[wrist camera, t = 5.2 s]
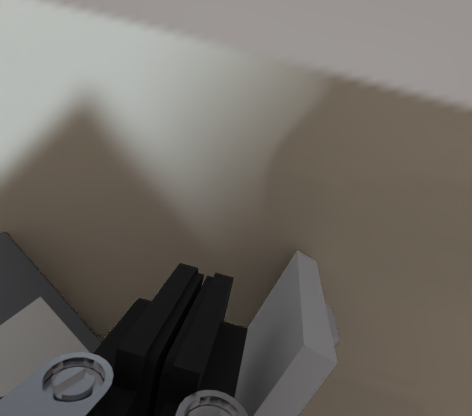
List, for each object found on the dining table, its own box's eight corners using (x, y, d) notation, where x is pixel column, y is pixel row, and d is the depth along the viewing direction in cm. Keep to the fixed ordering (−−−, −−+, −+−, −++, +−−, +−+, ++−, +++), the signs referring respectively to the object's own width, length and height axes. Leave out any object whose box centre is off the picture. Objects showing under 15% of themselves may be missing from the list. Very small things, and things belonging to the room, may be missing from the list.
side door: (207, 450, 15) (165, 623, 10) (175, 432, 15) (116, 595, 10) (331, 269, 13) (362, 378, 7) (292, 247, 13) (295, 339, 7)
